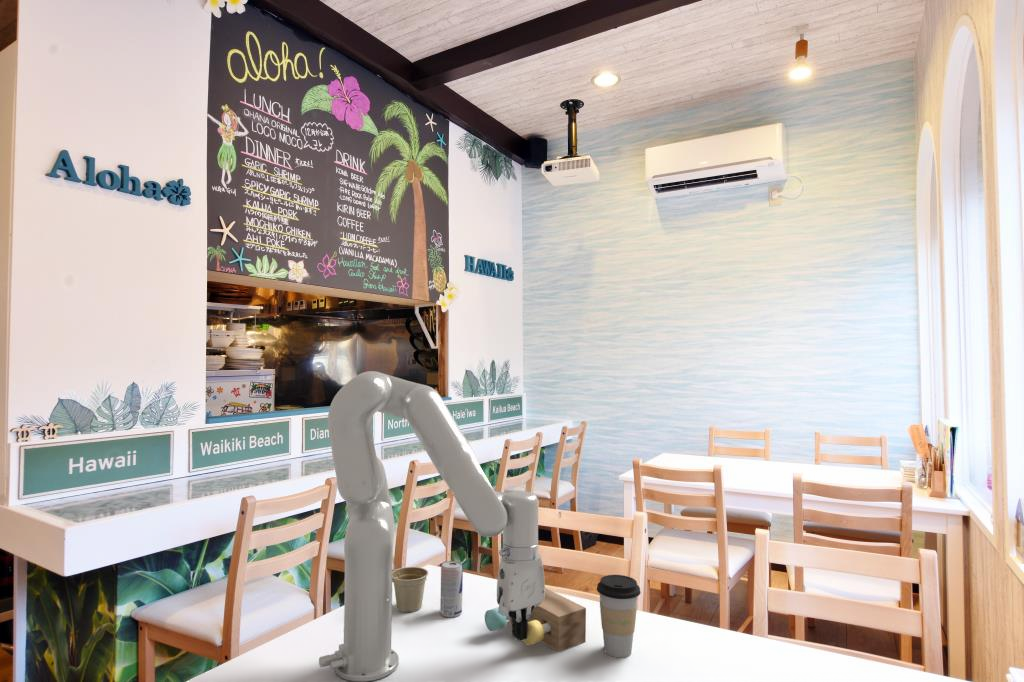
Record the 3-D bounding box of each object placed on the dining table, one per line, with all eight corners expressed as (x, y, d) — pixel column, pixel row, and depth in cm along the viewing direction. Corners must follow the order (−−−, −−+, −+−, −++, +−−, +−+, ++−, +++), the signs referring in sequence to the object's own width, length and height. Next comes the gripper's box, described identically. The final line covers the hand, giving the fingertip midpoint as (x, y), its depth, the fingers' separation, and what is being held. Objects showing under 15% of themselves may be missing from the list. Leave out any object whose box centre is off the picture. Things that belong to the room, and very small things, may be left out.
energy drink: (463, 609, 150) (464, 561, 151) (459, 618, 145) (460, 568, 145) (442, 608, 151) (443, 560, 151) (438, 617, 146) (438, 567, 146)
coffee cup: (607, 664, 124) (607, 591, 125) (589, 643, 134) (590, 575, 134) (648, 658, 127) (648, 587, 127) (627, 638, 136) (628, 571, 136)
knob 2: (533, 648, 127) (533, 627, 128) (520, 640, 131) (520, 620, 131) (571, 634, 134) (571, 615, 134) (558, 627, 138) (558, 608, 138)
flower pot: (382, 612, 148) (383, 577, 148) (400, 598, 157) (401, 564, 157) (417, 618, 145) (418, 582, 145) (433, 602, 154) (434, 569, 154)
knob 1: (495, 634, 134) (495, 614, 134) (484, 626, 137) (484, 607, 137) (533, 621, 140) (534, 602, 140) (522, 615, 144) (522, 596, 144)
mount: (558, 651, 129) (558, 616, 130) (509, 621, 144) (509, 590, 144) (585, 641, 134) (585, 608, 134) (535, 613, 149) (535, 583, 149)
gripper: (502, 562, 121) (501, 654, 121) (558, 549, 130) (557, 634, 129) (481, 552, 127) (480, 640, 127) (536, 540, 136) (536, 622, 135)
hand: (519, 637), depth 128 cm, fingers closed
